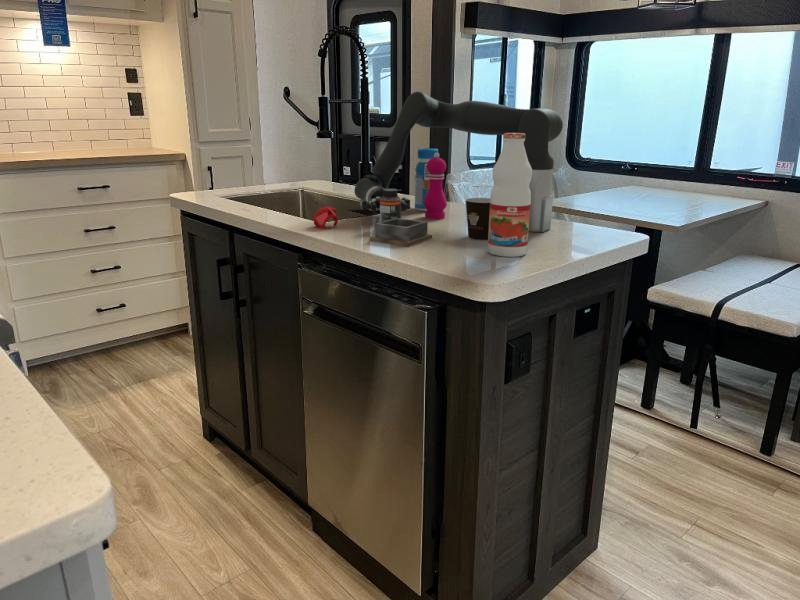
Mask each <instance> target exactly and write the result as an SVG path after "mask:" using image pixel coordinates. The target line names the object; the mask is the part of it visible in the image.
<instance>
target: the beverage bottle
mask: <svg viewBox="0 0 800 600" xmlns="http://www.w3.org/2000/svg"><path fill="white" fill-rule="evenodd" d="M435 153H439V149H438V148H430V147H429V148H428V147H425V148H424V147H423V148H422V147H421V148H420V147H419V148H418V149H417V160H418V161H417V164H416V166H415V169H414V171H415V176H414V210H416V211H419V212H421V211H422V212H426V211H427V209H426V208H425V207H424V200H425V197H426V195H427V193H428V190H429V184H430V182H429V179H428V174H429V172H428V170H427V163H428V161H429V160H430V159H432V158H434V154H435Z"/></svg>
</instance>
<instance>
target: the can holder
mask: <svg viewBox="0 0 800 600" xmlns="http://www.w3.org/2000/svg"><path fill="white" fill-rule="evenodd" d="M428 223H429V222H428V221H425V220H424V221H423V220H414V219H407V218H401V219H400V218H394V219H390V220H387V221H383V222H380V221H379V222H376V223H374V235H372V236H369V241H370V242H374V243H381V244H388V245H396V246H399V247H400V246H402V247H408V248H409V247H412V246H414V245H418V244H420V243H421V244H422V243H423V242H426V241H430V240H432V239H433V234H431V233H430V234H428V227H429V226H428V225H429V224H428Z"/></svg>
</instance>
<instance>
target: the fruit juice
mask: <svg viewBox="0 0 800 600" xmlns="http://www.w3.org/2000/svg"><path fill="white" fill-rule="evenodd" d="M525 138H526V137H525V134H524V133H504V135H503V141H504V144H503V146H502V149H501V151H500V154H499V157H498V159H497V161H496V163H495V164H494V166H493V168H492V172H491V173H492V180H493V187H492V189H491V192H490V215H489V233H488V240H487V251H488V254H490V255H492V256H493V255H494V256H497V257H505V258H513V257H514V258H516V257H522V256H524V255H526V254H527V252H528V243H529V242H528V241H529V231H528V230H529V217H530V204H531V192H530V189H529V183H530V181H531V177H532V168H531V166H530V164H529V161H528V158H527V155H526V151H525V147H524V141H525Z"/></svg>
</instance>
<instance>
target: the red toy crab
mask: <svg viewBox="0 0 800 600" xmlns="http://www.w3.org/2000/svg"><path fill="white" fill-rule="evenodd" d="M336 212H337V209H336V208H335V207H333V206H325V207H322V208H319V210H317V211H316V212H315V214H314V217H313V224H314V225H315V226H316V225H318V227H320V228H321V229H323V228H326V229H327V226H326V224H327V222H328V221H329V220H330V219H333V220H334V224H333V227H334V226H336V227H337V225H338V221H339V217H338V216H337V215H336Z"/></svg>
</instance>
